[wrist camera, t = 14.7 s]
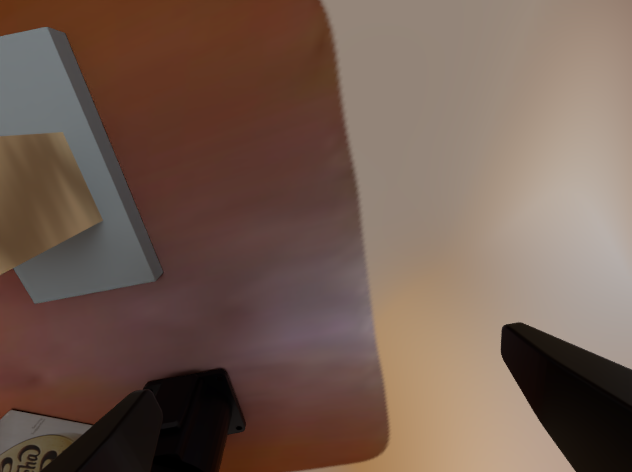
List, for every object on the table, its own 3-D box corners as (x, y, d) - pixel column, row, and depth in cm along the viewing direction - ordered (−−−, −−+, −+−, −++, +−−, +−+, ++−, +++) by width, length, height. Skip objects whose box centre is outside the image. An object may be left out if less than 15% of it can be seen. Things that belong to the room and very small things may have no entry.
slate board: (163, 272, 21) (155, 281, 20) (48, 293, 21) (34, 303, 20) (64, 32, 16) (46, 26, 15) (-85, 64, 16) (-115, 60, 15)
